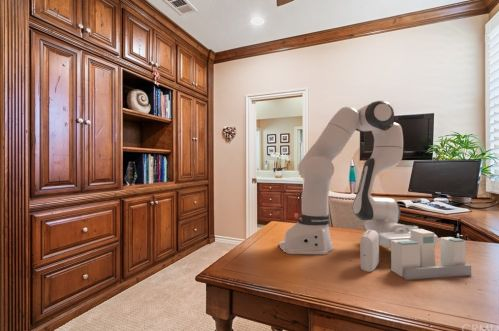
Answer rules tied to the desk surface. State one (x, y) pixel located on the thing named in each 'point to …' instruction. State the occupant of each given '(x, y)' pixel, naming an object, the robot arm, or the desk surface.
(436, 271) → the din mount
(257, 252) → the desk surface
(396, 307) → the desk surface
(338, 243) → the desk surface
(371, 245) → the photo printer
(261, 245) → the desk surface
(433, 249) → the block
